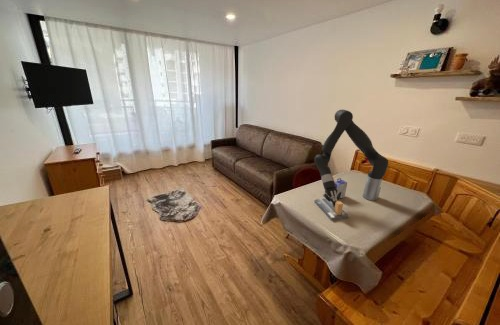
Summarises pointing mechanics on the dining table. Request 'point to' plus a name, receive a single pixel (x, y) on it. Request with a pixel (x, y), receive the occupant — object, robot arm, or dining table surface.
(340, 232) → the dining table surface
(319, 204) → the switch panel
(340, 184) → the ink cartridge box
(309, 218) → the dining table surface
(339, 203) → the switch tab
